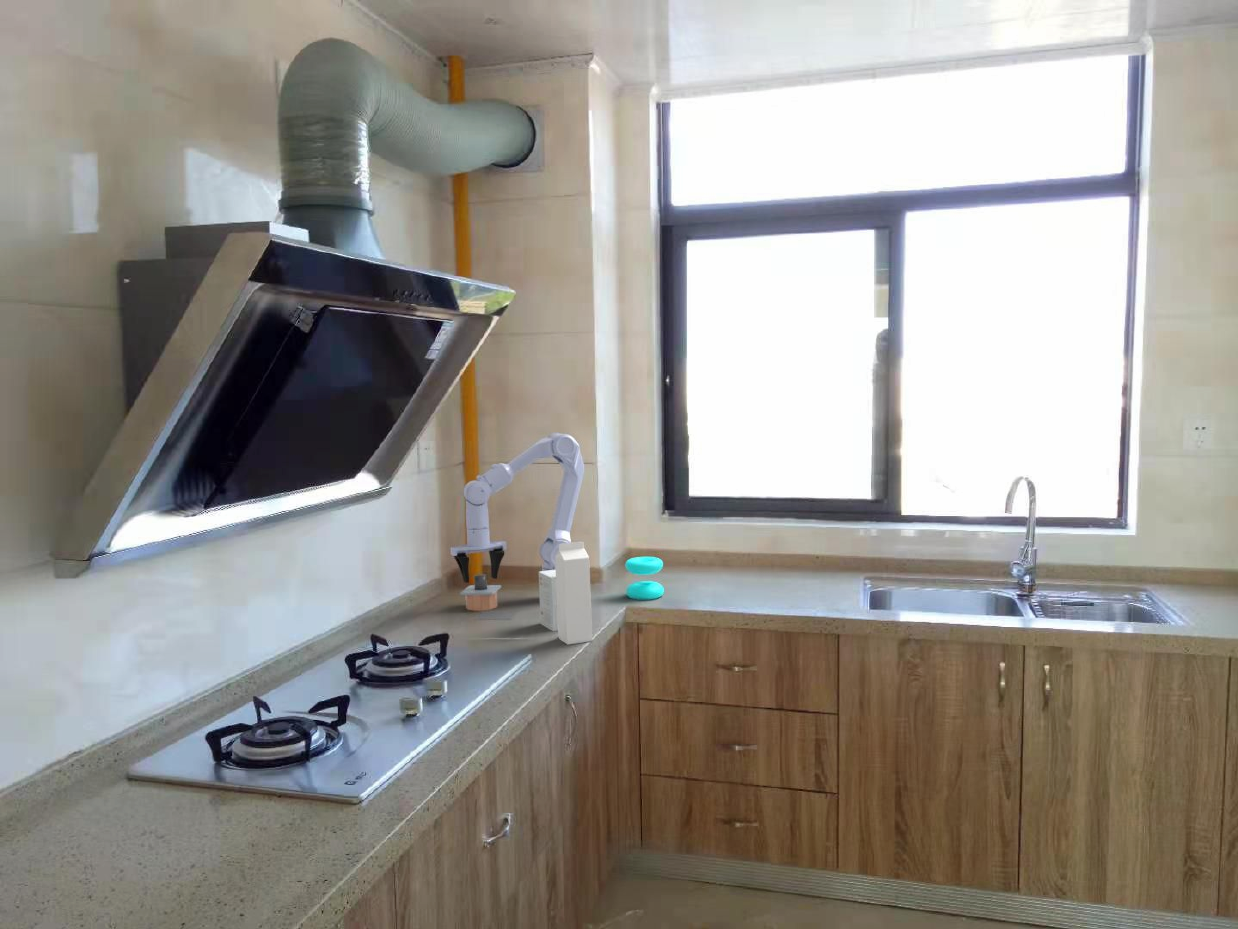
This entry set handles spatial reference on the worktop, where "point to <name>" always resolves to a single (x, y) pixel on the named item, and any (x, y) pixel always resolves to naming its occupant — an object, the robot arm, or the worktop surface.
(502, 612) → the mat
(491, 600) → the bowl
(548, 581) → the small box
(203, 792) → the worktop surface
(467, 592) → the lid
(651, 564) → the donuts
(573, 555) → the milk
